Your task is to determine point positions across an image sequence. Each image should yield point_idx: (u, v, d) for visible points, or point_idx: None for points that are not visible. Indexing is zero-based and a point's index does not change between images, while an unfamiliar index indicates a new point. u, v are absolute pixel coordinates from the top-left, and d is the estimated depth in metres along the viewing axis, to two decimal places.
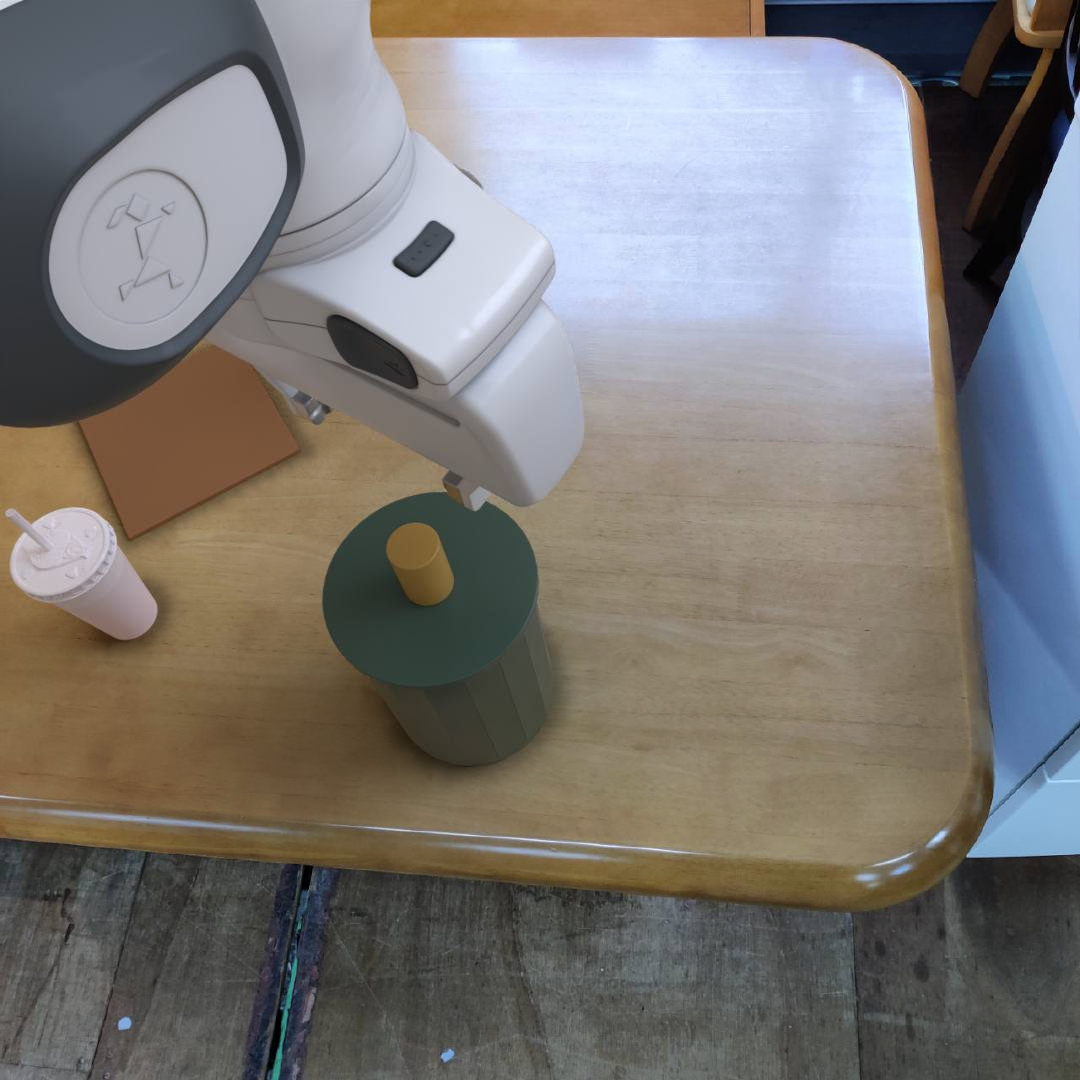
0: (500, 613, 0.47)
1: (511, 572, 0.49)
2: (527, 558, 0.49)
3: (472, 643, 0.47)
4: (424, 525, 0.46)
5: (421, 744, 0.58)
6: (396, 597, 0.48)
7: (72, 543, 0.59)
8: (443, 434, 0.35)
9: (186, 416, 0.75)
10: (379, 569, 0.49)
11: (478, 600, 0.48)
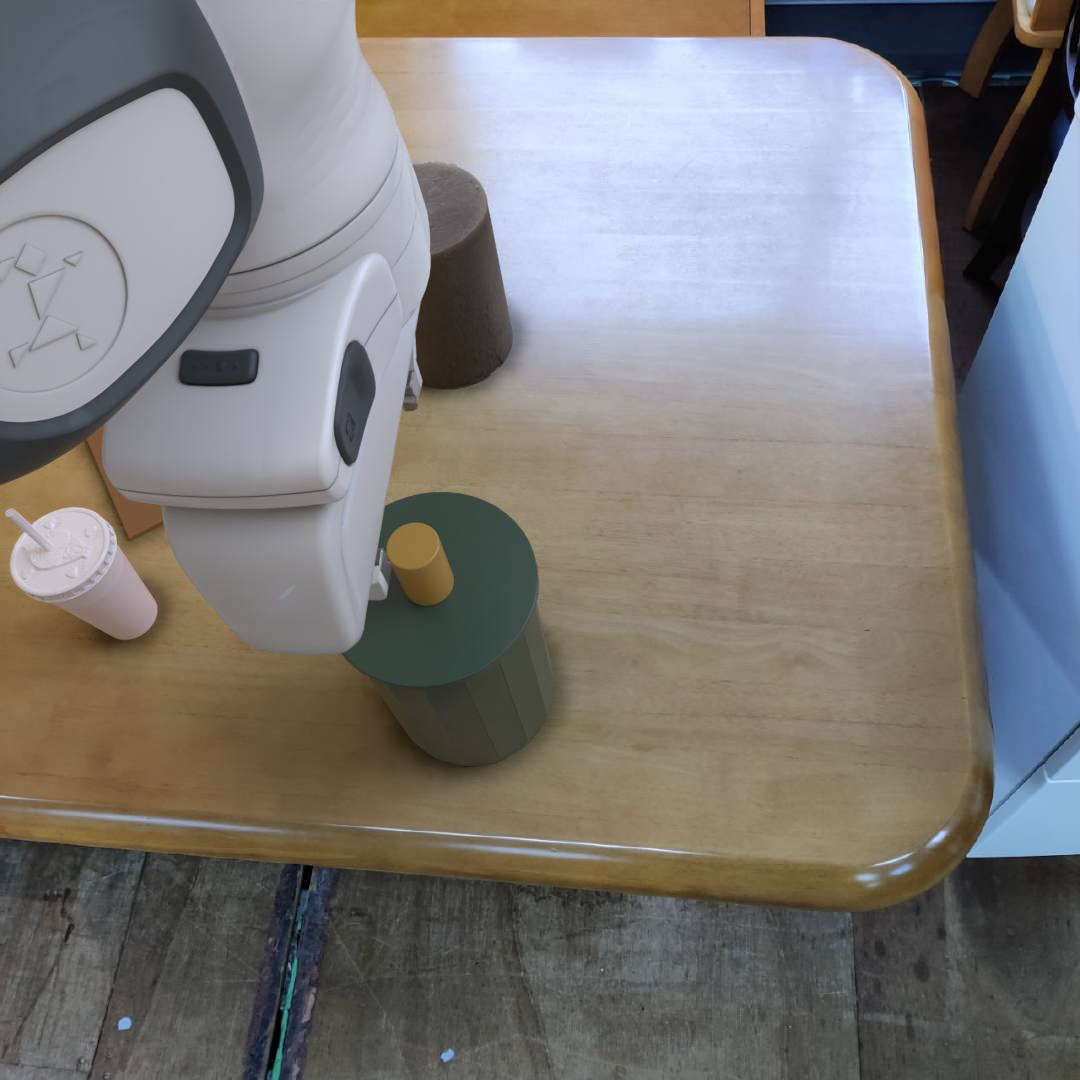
0: (500, 613, 0.47)
1: (511, 572, 0.49)
2: (527, 558, 0.49)
3: (472, 643, 0.47)
4: (424, 525, 0.46)
5: (421, 744, 0.58)
6: (396, 597, 0.48)
7: (72, 543, 0.59)
8: None
9: None
10: None
11: (478, 600, 0.48)
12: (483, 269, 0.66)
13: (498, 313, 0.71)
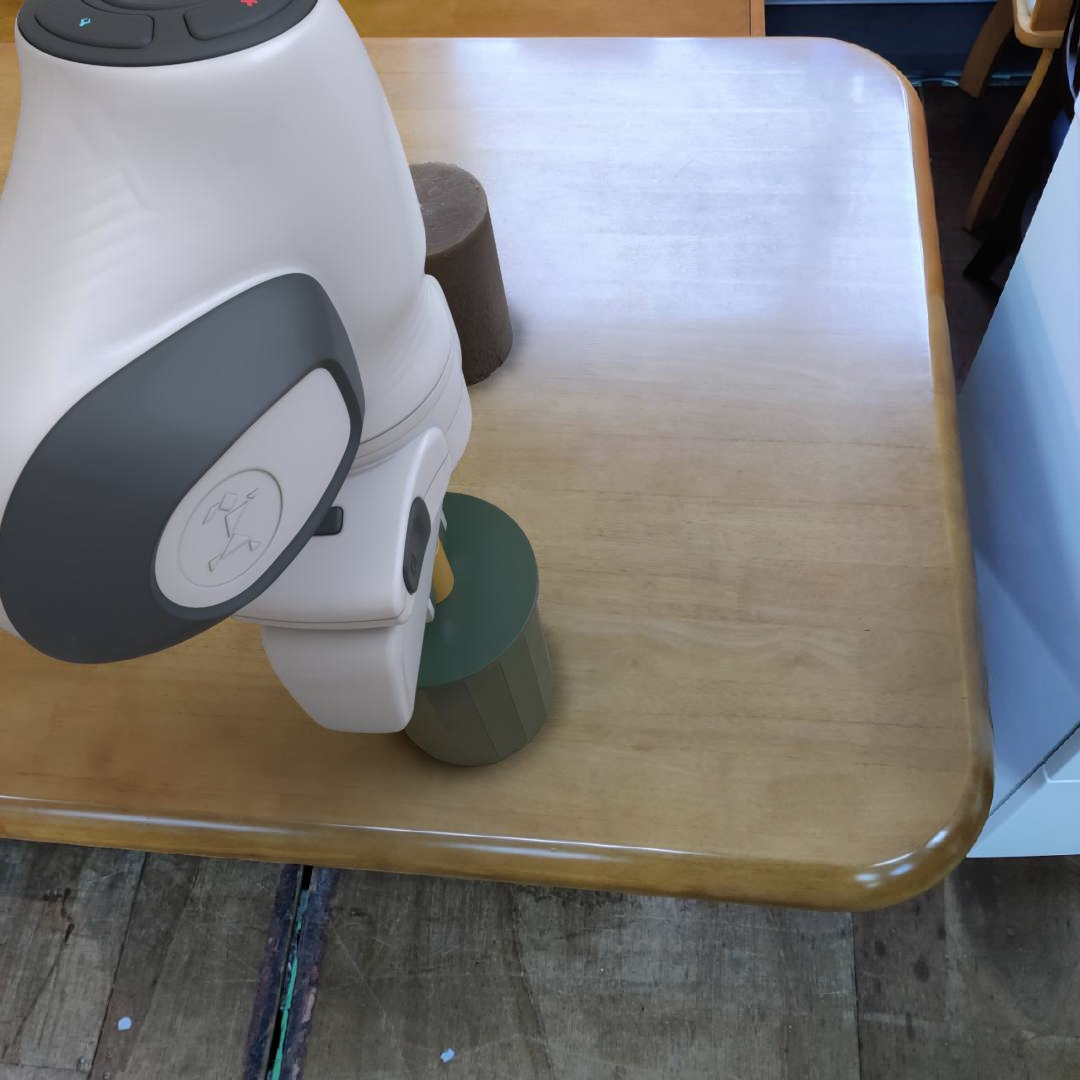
0: (500, 613, 0.47)
1: (511, 572, 0.49)
2: (527, 558, 0.49)
3: (472, 643, 0.47)
4: None
5: (421, 744, 0.58)
6: None
7: None
8: None
9: None
10: None
11: (478, 600, 0.48)
12: (483, 269, 0.66)
13: (498, 313, 0.71)
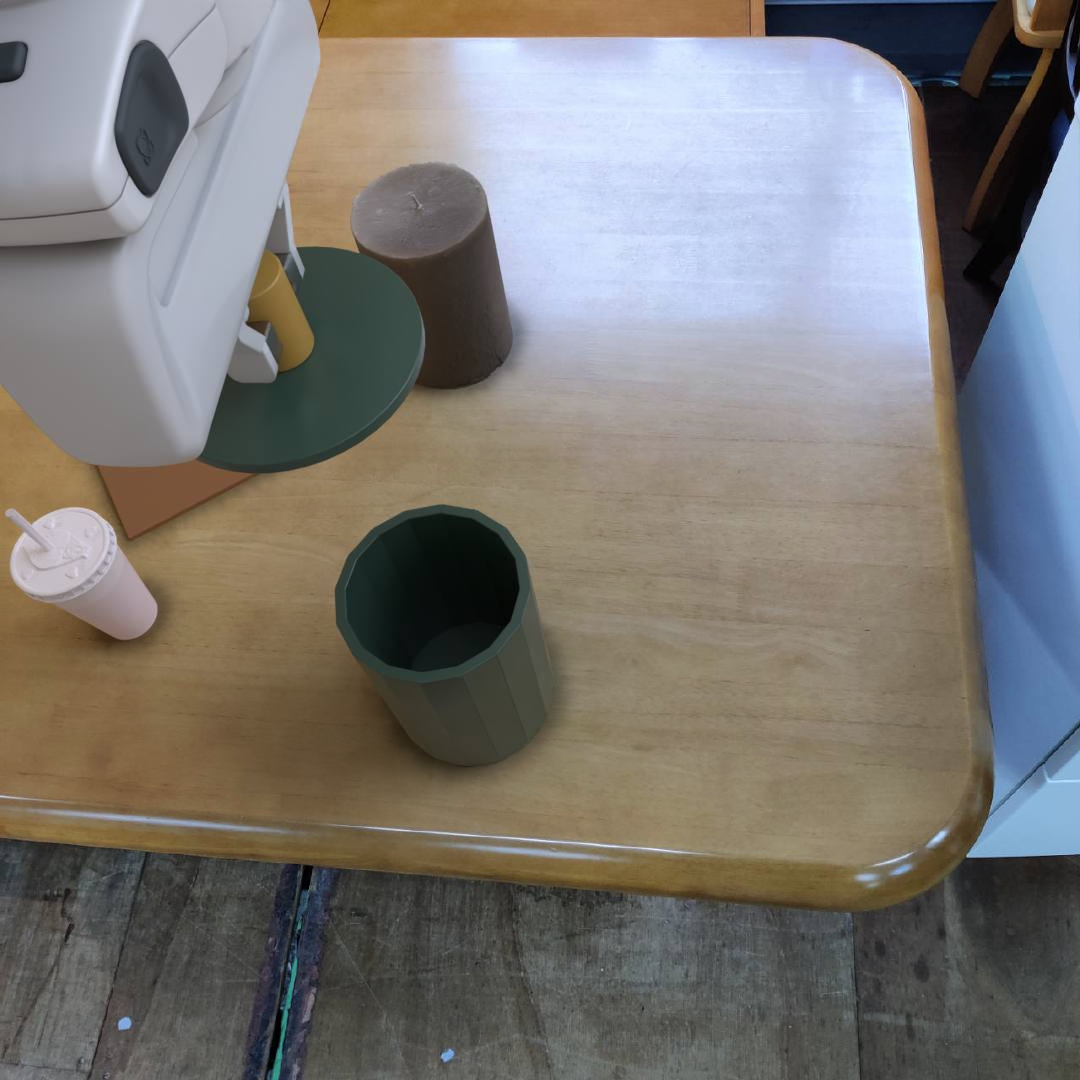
0: (370, 379, 0.36)
1: (388, 332, 0.37)
2: (410, 316, 0.38)
3: (331, 413, 0.36)
4: None
5: (421, 744, 0.58)
6: None
7: (72, 543, 0.59)
8: None
9: None
10: None
11: (343, 364, 0.37)
12: (483, 269, 0.66)
13: (498, 313, 0.71)
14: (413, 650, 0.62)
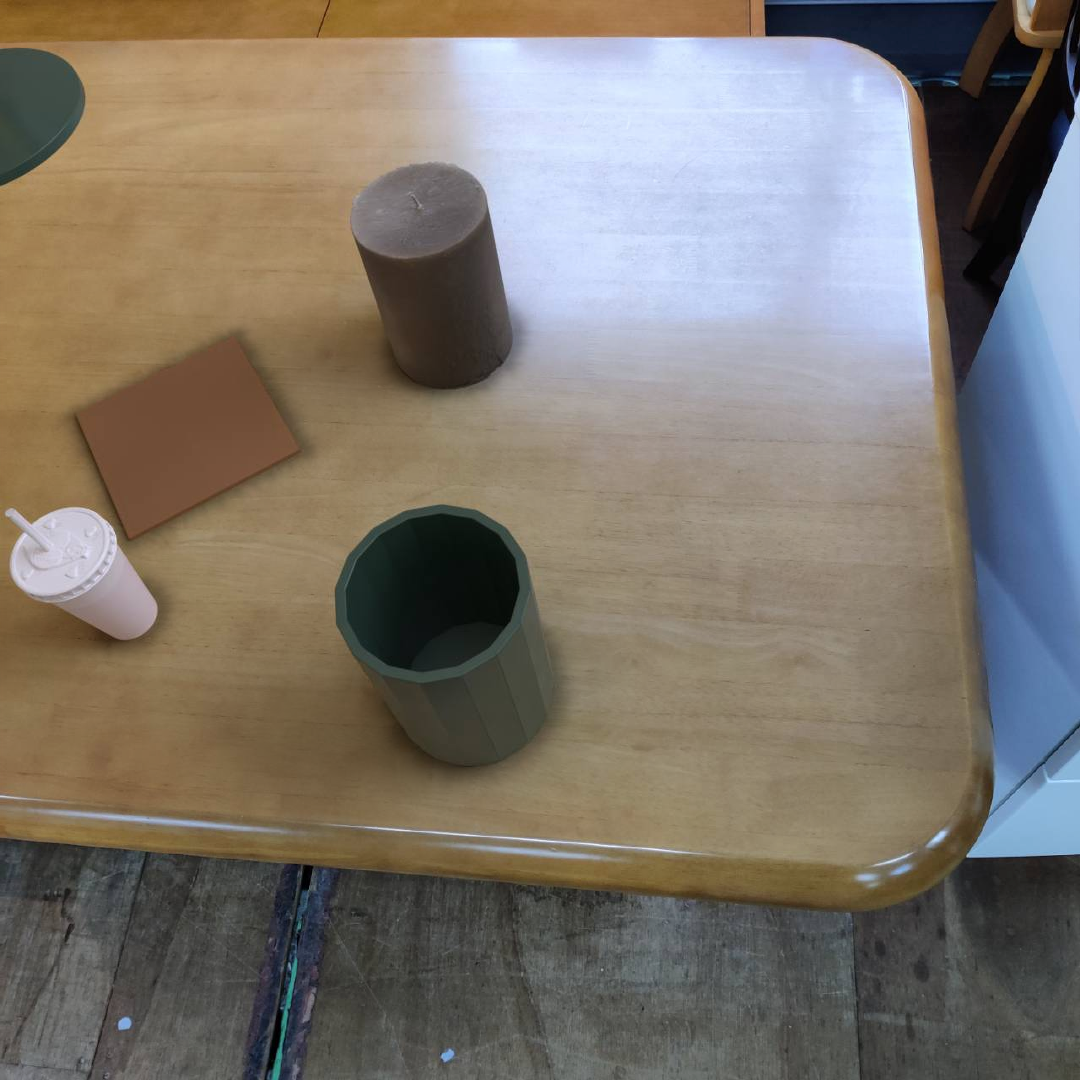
0: (32, 132, 0.48)
1: (53, 102, 0.49)
2: (72, 91, 0.49)
3: None
4: None
5: (421, 744, 0.58)
6: None
7: (72, 543, 0.59)
8: None
9: (186, 416, 0.75)
10: None
11: (15, 124, 0.48)
12: (483, 269, 0.66)
13: (498, 313, 0.71)
14: (413, 650, 0.62)
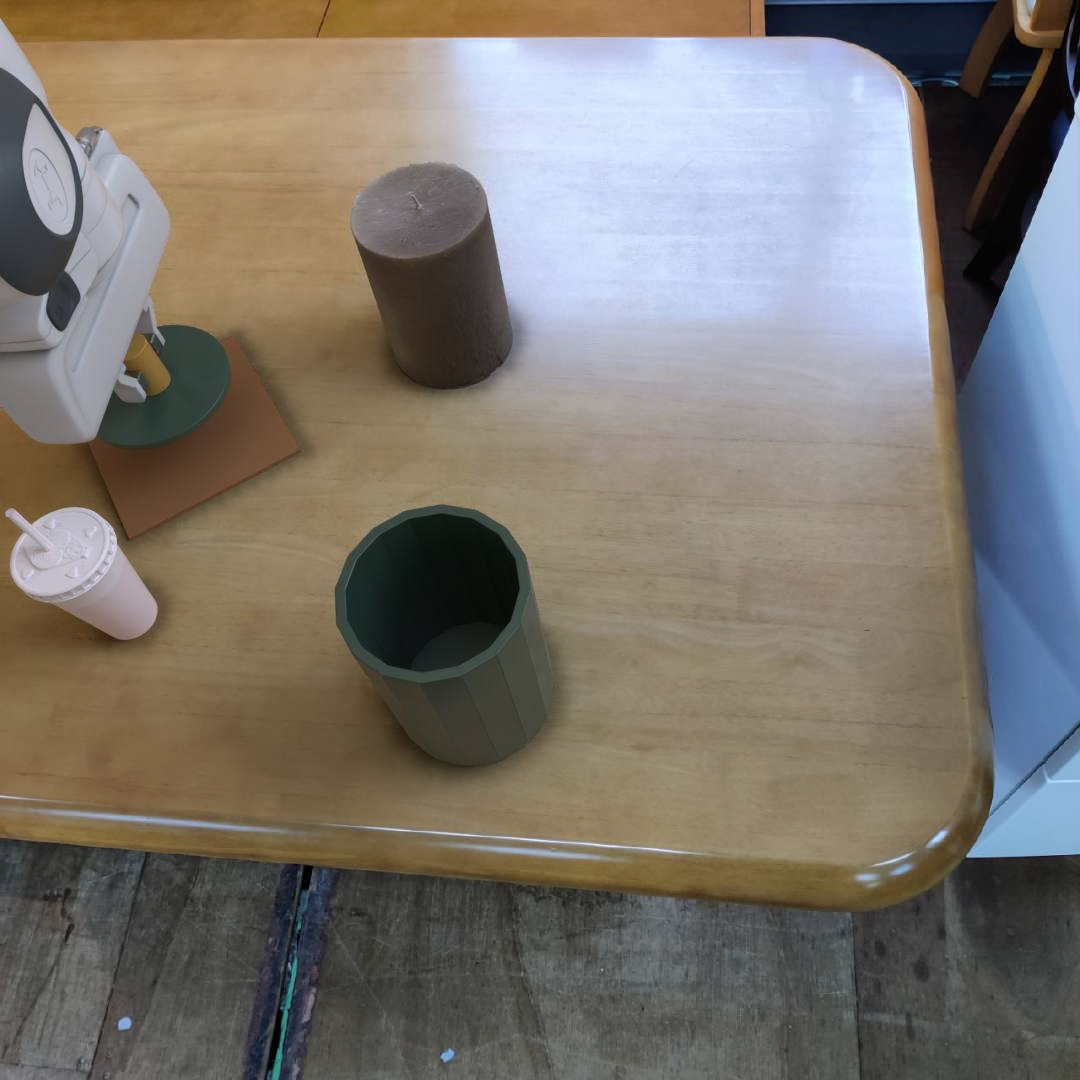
0: (198, 399, 0.68)
1: (210, 374, 0.69)
2: (223, 365, 0.69)
3: (175, 418, 0.67)
4: (137, 333, 0.66)
5: (421, 744, 0.58)
6: None
7: (72, 543, 0.59)
8: None
9: None
10: None
11: (184, 392, 0.69)
12: (483, 269, 0.66)
13: (498, 313, 0.71)
14: (413, 650, 0.62)
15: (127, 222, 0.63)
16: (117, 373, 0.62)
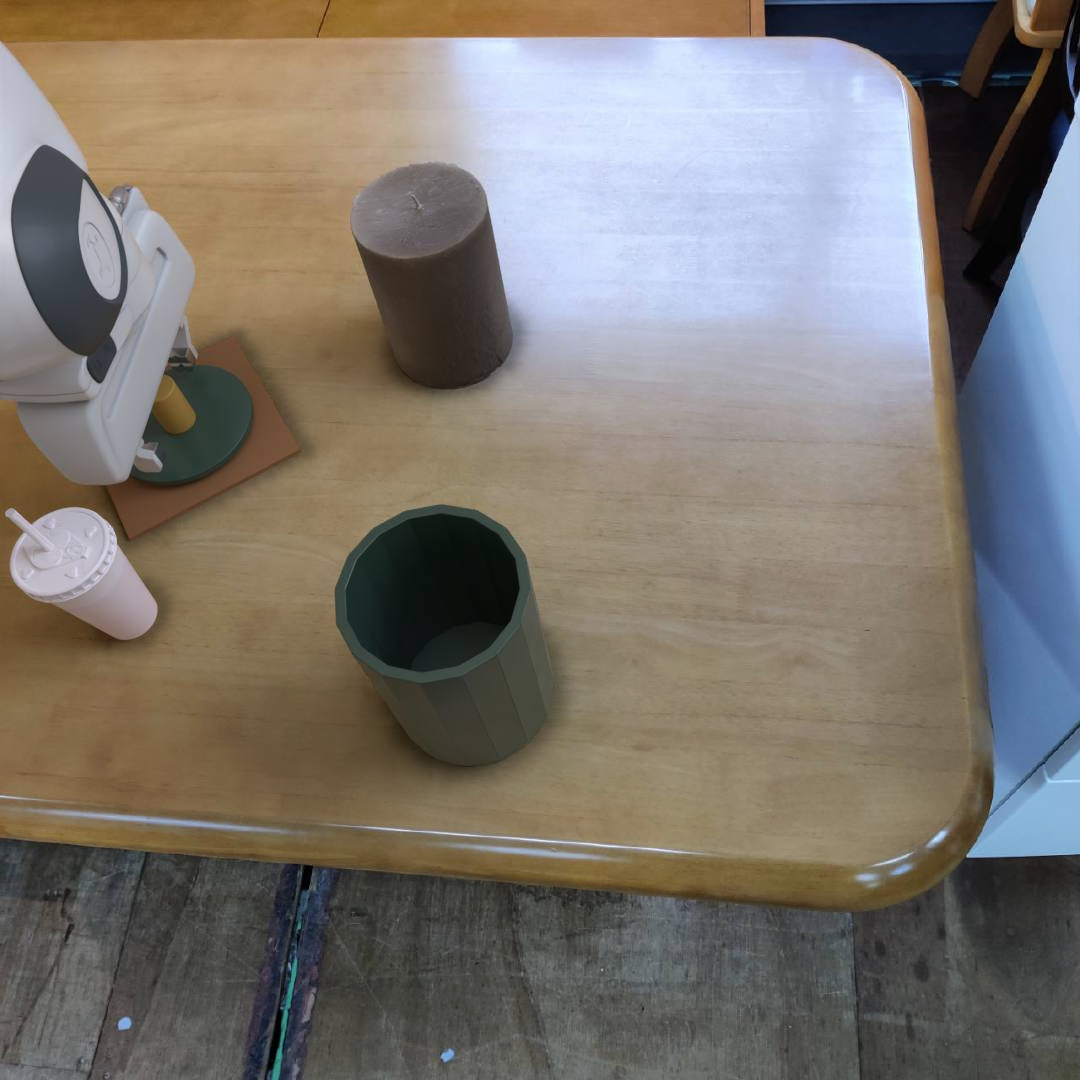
0: (222, 437, 0.72)
1: (233, 413, 0.73)
2: (245, 404, 0.73)
3: (201, 455, 0.71)
4: (166, 376, 0.70)
5: (421, 744, 0.58)
6: (157, 429, 0.73)
7: (72, 543, 0.59)
8: None
9: None
10: None
11: (209, 430, 0.73)
12: (483, 269, 0.66)
13: (498, 313, 0.71)
14: (413, 650, 0.62)
15: (156, 273, 0.67)
16: (147, 416, 0.66)
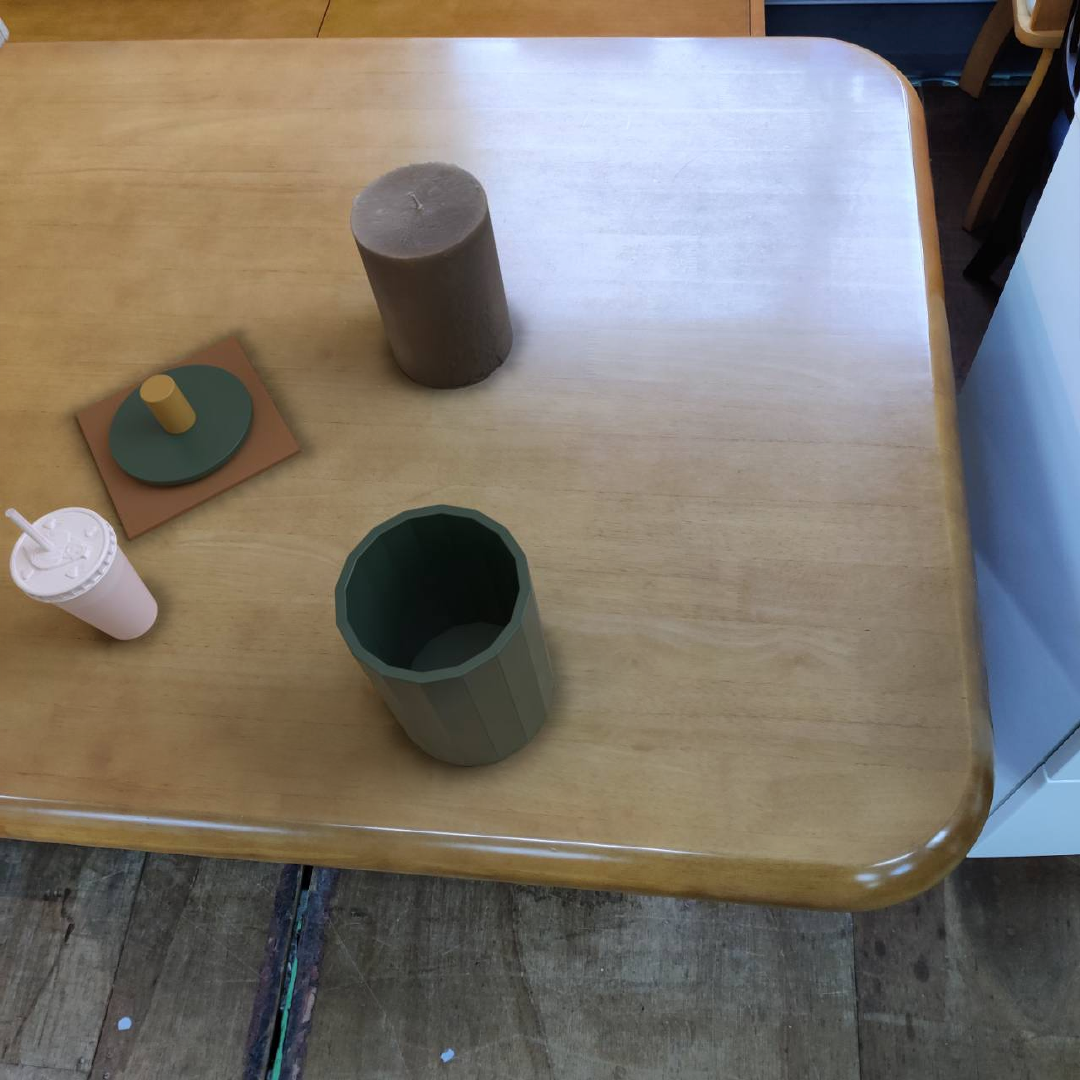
0: (222, 437, 0.72)
1: (233, 413, 0.73)
2: (245, 404, 0.73)
3: (201, 455, 0.71)
4: (166, 376, 0.70)
5: (421, 744, 0.58)
6: (157, 429, 0.73)
7: (72, 543, 0.59)
8: None
9: None
10: (149, 413, 0.74)
11: (209, 430, 0.73)
12: (483, 269, 0.66)
13: (498, 313, 0.71)
14: (413, 650, 0.62)
15: None
16: None
